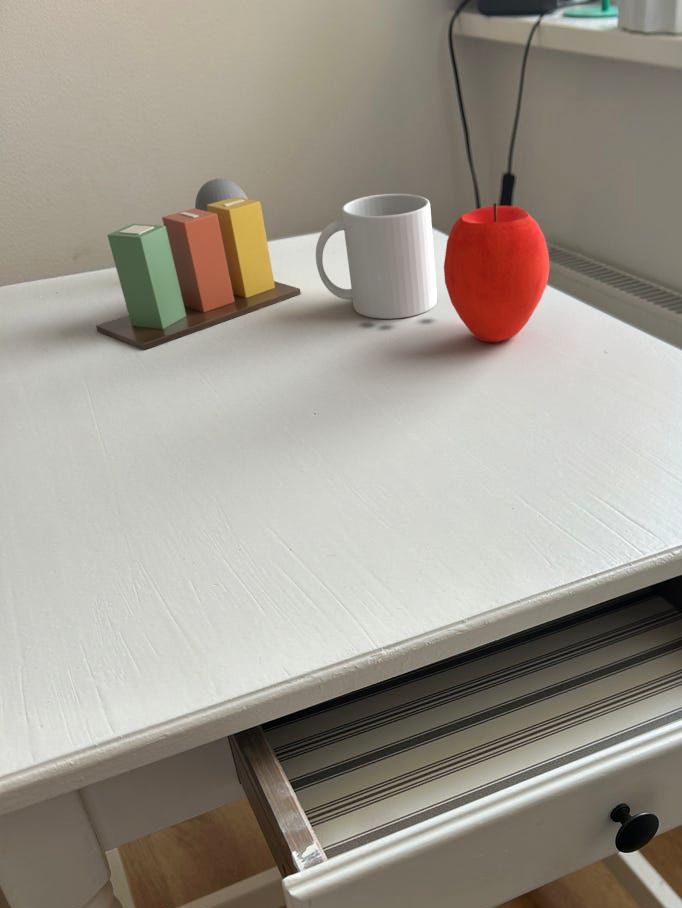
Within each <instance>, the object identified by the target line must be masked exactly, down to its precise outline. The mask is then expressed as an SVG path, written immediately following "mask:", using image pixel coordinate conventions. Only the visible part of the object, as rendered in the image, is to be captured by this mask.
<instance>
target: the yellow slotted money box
mask: <svg viewBox="0 0 682 908" xmlns="http://www.w3.org/2000/svg"><path fill="white" fill-rule="evenodd" d="M207 209H208V212H211V213H215V214H217V216H218V222H219V227H220V232H221V237H222V242H223V247H224V252H225V257H226V262H227V267H228V272H229V277H230V282H231V287H232V292H233V294H235V295H238V296H241V297H245V298H248V297H250V296H253V295H256V294H259V293H262V292H265V291H268V290H271V289H273V288H275V285H274V281H275V280H274V274H273V273H274V272H273V268H272V262H271V256H270V250H269V244H268V238H267V233H266V227H265V221H264V215H263V211H262V205H261V201H259V200H254V199H249V198H247V199H246V198H241V197H234V198H230V199H227V200H223V201H219V202H216V203H212V204H208V205H207Z"/></svg>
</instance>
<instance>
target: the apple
mask: <svg viewBox="0 0 682 908" xmlns="http://www.w3.org/2000/svg"><path fill="white" fill-rule="evenodd" d="M547 246H548V245H547V242H546V239H545V235H544V233H543V231H542V230H541V228H540V225H539V224H538V222H537V221H536V220H535V219H534V218H533V217H532V216H531V215H530V214H529V213H528V212H527V211H526V210H524V209H523V208H521V207H518V206H512V205H497V203H496V202H495V203H493V205H491V206H484V207H479V208H476V209H474V210H472V211H469V212H467V213H464V214H463V215H462V216H460V217H459V218H458V219H457V220H456V221H455V222H454V224H453V226H452V228H451V230H450V232H449V235H448V238H447V240H446V248H445V255H444V262H443V274H444V284H445V286H446V290H447V293H448V296H449V300H450V303H451V304H452V306H453V308H454V311H456V313H457V316H458V317H459V319H460V320H461V321H462V322H463V324H464V325H465V327H466V328H467V329H468V330H469V331H470V333H471V334H472V336H474V337H475V338H476V339H478V340H480V341H482V342H484V343H498V342H502V341H506V340H509V339H511V338H513V337H515V336H516V335H517V334H519V332H520V331H521V330H523V328H524V327H525V326H526V325H527V323H528V322H529V321H530V319H531V318H532V316H533V313H534V312H535V310H536V308H537V307H538V305H539V304H540V302H541V300H542V297H543V294H544V292H545V290H546V287H547V285H548V281H549V274H550V273H549V272H550V256H549V251H548V247H547Z"/></svg>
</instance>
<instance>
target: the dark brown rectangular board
mask: <svg viewBox="0 0 682 908" xmlns="http://www.w3.org/2000/svg"><path fill="white" fill-rule="evenodd" d="M274 285H275V288H273V289H271V290H268V291H265V292H262V293H259V294H256V295H253V296H250V297H248V298H245V297H241V296H238V295H235V294H233V297H234V302H233V303H230V304H227V305H224V306H221V307H218V308H216V309H213V310H210V311H207V312H201V311H198V310H195V309H192V308H189V307H186V306H184V308H185V312H186V317H184V318H182V319H180V320H179V321H177V322H175V323H173V324H172V325H170V326H168V327H167V328H165V329H155V328H147V327H138V326H132V325H131V321H130V318H129V314H126V315H123V316H119V317H116V318H113V319H111V320H108V321H105V322H102V323H99V324H96V325H95V330H96V331H97V332H98V333H101V334H103V335H106V336H108V337H111V338H114V339H116V340H118V341H120V342H124V343H126V344H129V345H131V346H133V347H135V348H138V349H141V350H144V351H146V350H149V349H151V348H154V347H157V346H160V345H163V344H166V343H168V342H170V341H173V340H176V339H179V338H182V337H184V336H187V335H190V334H193V333H196V332H198V331H202V330H204V329H208V328H210V327H212V326H215V325H219V324H221V323H224V322H226V321H229V320H231V319H235V318H239V317H241V316H243V315H246V314H249V313H251V312H255V311H257V310H260V309H263V308H265V307H266V308H267V307H268V306H270V305H274V304H276V303H280V302H282V301H285V300H288V299H290V298H294V297H296V296H299V295H301V294H302V292H301V288H299V287H296V286H293V285H289V284H286V283H282V282H279V281H275V280H274Z"/></svg>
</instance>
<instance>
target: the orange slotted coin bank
mask: <svg viewBox="0 0 682 908" xmlns="http://www.w3.org/2000/svg"><path fill="white" fill-rule="evenodd" d="M161 218H162V219H161V220H162V223H163V226H166V230H167V235H168V239H169V243H170V247H171V252H172V256H173V260H174V265H175V269H176V273H177V278H178V282H179V286H180V291H181V295H182V299H183V303H184V306H186V307H189V308H192V309H195V310H198V311H201V312H207V311H210V310H213V309H216V308H218V307H221V306H224V305H227V304H230V303H233V302H234V297H233V292H232V287H231V282H230V277H229V272H228V267H227V262H226V257H225V252H224V247H223V242H222V237H221V232H220V227H219V222H218V216H217V214H215V213H211V212H207V211H203V210H199V209H196V208H195V207H194V208H191V209H187V210H182V211H179V212H175V213H171V214H168V215H165V216H162V217H161Z"/></svg>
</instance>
